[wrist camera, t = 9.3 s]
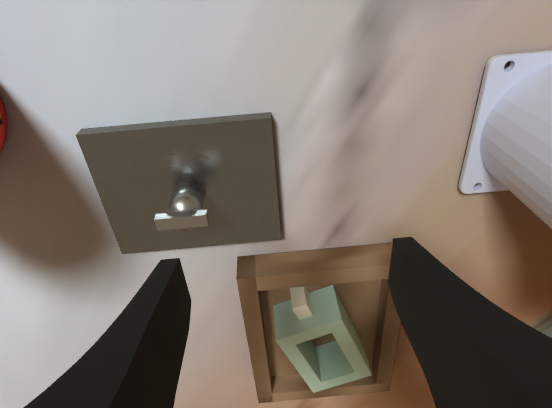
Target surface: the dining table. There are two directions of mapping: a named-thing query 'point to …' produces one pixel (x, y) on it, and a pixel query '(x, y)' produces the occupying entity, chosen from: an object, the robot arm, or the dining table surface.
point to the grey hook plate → (186, 181)
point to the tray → (364, 315)
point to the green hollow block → (315, 323)
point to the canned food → (2, 125)
